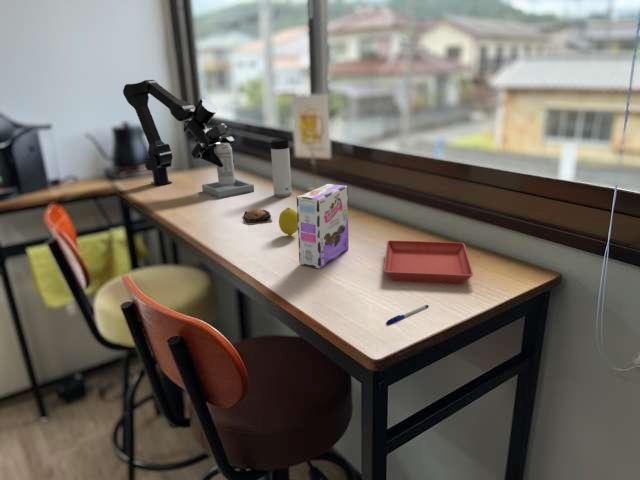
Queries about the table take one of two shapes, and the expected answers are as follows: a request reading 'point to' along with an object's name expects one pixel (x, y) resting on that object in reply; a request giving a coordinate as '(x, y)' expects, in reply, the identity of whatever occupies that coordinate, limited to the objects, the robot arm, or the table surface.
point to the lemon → (288, 221)
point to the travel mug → (281, 167)
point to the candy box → (322, 225)
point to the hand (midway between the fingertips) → (227, 164)
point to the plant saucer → (427, 261)
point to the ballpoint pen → (405, 315)
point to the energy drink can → (225, 164)
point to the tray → (227, 189)
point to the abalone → (257, 217)
